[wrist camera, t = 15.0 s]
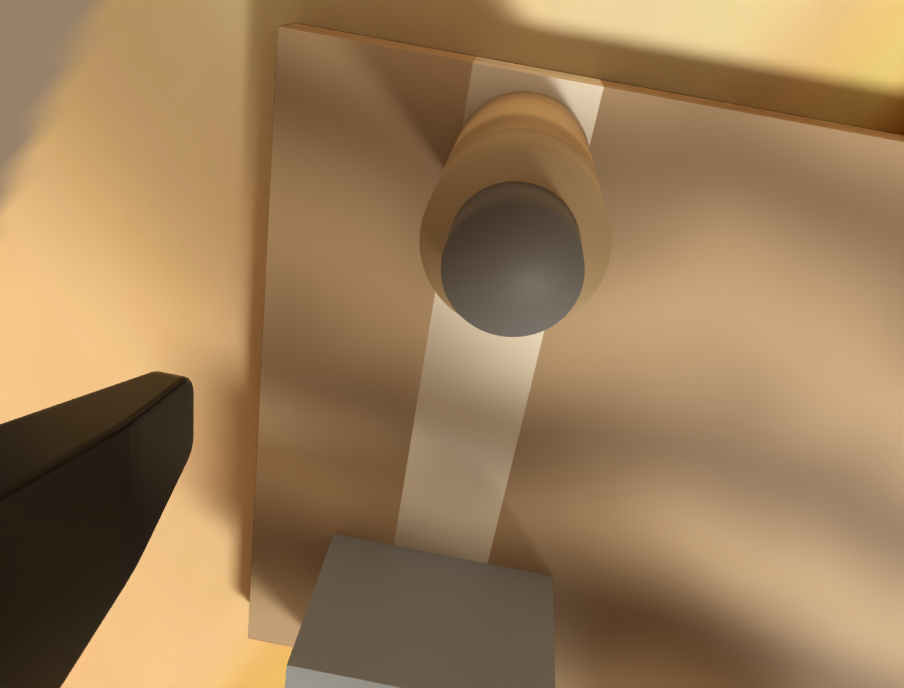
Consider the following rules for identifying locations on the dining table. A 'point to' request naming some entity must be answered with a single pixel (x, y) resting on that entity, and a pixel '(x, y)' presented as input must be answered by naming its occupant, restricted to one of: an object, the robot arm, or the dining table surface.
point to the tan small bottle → (517, 218)
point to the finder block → (422, 622)
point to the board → (595, 376)
